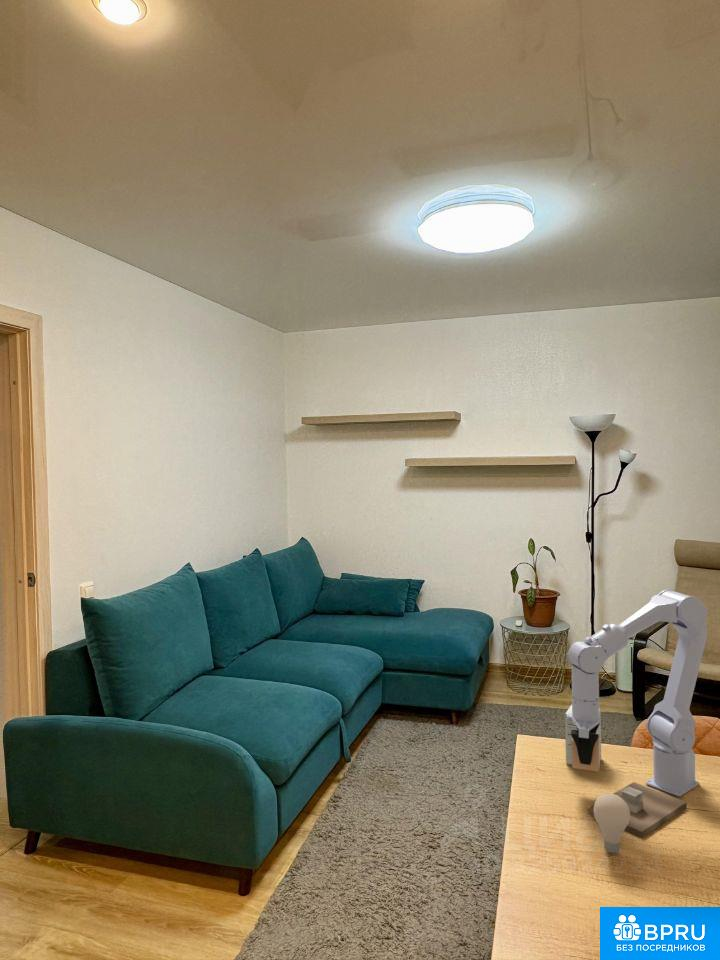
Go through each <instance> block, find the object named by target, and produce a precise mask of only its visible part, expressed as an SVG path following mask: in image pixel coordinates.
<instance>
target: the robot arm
mask: <svg viewBox="0 0 720 960" xmlns="http://www.w3.org/2000/svg"><path fill="white" fill-rule="evenodd" d="M708 611H709V610H708V608H707V607H706V605H705V604H704V603H703V601H702V600H701V599H700V598H698V597H696V596H693V595H688V594H684V593H682V592H677V591H675V590H673V589H664V590H662V591H660V592H659V593H658V594H655V595H653V596H652V597H651V598H650V601H649V602H648V603H647V604H645V605H644V606H642V607H640V609H638V610H637V611H636V612H635V613H633V614H632V615H630V616H628V617H627V618H626V619H625V620H623V621H622V622H621V623H619V624H615V623H610V624H607V623H605V624H604V625H602V626H601V628H602V629H600V630H599V631H597V632H596V633H594V634H592V635H591V636H586V637H585V638H584V641H583V640H581V641H579V640H578V641H576V642H574V643H572V644H571V645H570V648H569V649H568V652H567V653H565V654H566V656H565V657H566V659H567V662H568V663H569V664H570V665H571V669H570V670H571V705H572V714H570V713H568V714H567V719H569V720H572V721H573V722H574V724H575V725H576V727H577V730H571V736H572V738H573V740H574V742H575V744H576V747H577V751H578V756H579V760H580V763H581V764H587V765H590V764H591V760H592V753H593V748H594V745H595V743H596V741H597V739H598V734H596V731H597V729H598V727H599V725H600V717H599V709H600V683H599V679H600V677H599V676H600V675H599V672H600V671H601V670H602V669H603V666H604V664H605V662H606V661H607V660H608V659H609V658H611V657H612V656H614V655H615V654H617V653H619V651H621V650H623V649H624V648H626V647H628V645H629V639H630V638H631V637H633V636H635V635H637V634H639V633H640V632H642V631H644V630H646V629H648V628H649V627H651V626H653V625H655V624H656V623H658V622H662V623H663V622H664V623H671V624H672V626H673V627H674V629H675V630H676V631H677V632H678V639H677V643H676V646H675V647H676V648H675V652H674V655H673V660H672V664H671V666H670V667H671V668H670V672H669V676H668V680H667V684H666V689H665V692H664V697H663V700H661V701H659V702H658V703H656V704H655V705H654V708H653V711H652V712H651V714H650V715H649V716H648V719H647V721H646V730H647V732H648V734H649V735H651V738H652V739H651V740H652V744H653V747H652V748H653V749H652V750H653V755H652V756H653V777H651V778H650V779H648V780H646V781H645V784H646V785H647V786H650V787H653V788H655V789H657V790H661V791H663V792H666V793H669V794H671V795H674V796H677V797H681V796H683V795H685V794H686V793H688V792H689V791H691V790H692V789H694V788H696V787H697V786H698V785H700V782H699V781H698V780H696V755H695V754H696V753H695V751H694V750H693V747H694V745H695V742H696V733H695V727H696V726H695V725H696V721H695V718H694V717H693V715H692V712H691V711H690V707H691V703H692V699H693V695H694V691H695V688H696V684H697V683H696V682H697V678H698V675H699V671H700V667H701V662H702V659H703V656H704V655H703V654H704V651H705V648H706V647H705V646H706V642H707V639H708V627H707V614H708ZM591 733H593V734H591Z"/></svg>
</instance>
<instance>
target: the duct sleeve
mask: <svg viewBox="0 0 720 960" xmlns="http://www.w3.org/2000/svg"><path fill="white" fill-rule="evenodd" d="M591 734H593V733H591ZM600 765H601V760H600V734H598V739H597V741H596V743H595V745H594V748H593V753H592V760H591V764H590V765H587V764H581V763H580V760H579V756H578V751H577V747H576V744H575V742H574V740H573V738H572V765H571V767H572V768H573V769H580V770H585V771H586V770H587V771H593V772H600V768H601V767H600Z"/></svg>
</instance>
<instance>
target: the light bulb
mask: <svg viewBox="0 0 720 960" xmlns="http://www.w3.org/2000/svg"><path fill="white" fill-rule="evenodd" d="M594 804H595V805H594ZM594 804H593V805H594V810H593V811H594V816H593V817H594V818H595V820H596V822H597V824H598V826H599V828H600V830H601V834H602V838H603V840H604V841H603V842H604V843H603V845H604V850H606V852H608V853H610V854H617V853H619V852H620V851H621V850H620V843H621V841H622V835H623V833H624V832H625V831H626V830H625V828H626V827H627V825H628V824H629V819H630V811H629V807H628V805H627V804H626V803H625V801H624V800H623V799H622V798H621V797H619V796H618V795H615V794H614V793H610V792H609V793H603V794H601V795H599V796H598V797H597V799H595V801H594Z"/></svg>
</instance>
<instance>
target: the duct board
mask: <svg viewBox="0 0 720 960" xmlns="http://www.w3.org/2000/svg"><path fill="white" fill-rule="evenodd" d="M613 794H615V795H618V796H619V797H621V798H622V799H623V800H624V801H625V803H626V804H627V805H628V807H629V811H630V819H629V824H628V825H627V827H626V828H625V830H624V831H626V832H628V833H631V834H633V835H635V836H637V837H640V838H644V837H645V836H647V835H649V834H650V833H652V832H653V831H654V830H656V829H657V828H659V827H661V826H662V825H663V824H665V823H666V822H668V821H669V820H671V819H672V818H674V817H675V816H676V815H678V814H679V813H681V812H682V811H684V810H686V809H687V808H688V807H687V801H685V800H682V799H680V798H676V797H674V796H671V795H669V794H666V793H664V792H661V791H659V790H657V789H653V788H651V787H649V786H648V787H647V786H645V785H643V784H640V783H638V782H635V781H633V782H631V783H629V784H627V785H626V786H624V787H622V788H620V789H619V790H617V791H616V792H614V793H613ZM594 805H595V803H594V804H593V805H591V806H589V807H588V808H587V814H589V815H591V816H593V817H595V816H594V811H593V810H594Z"/></svg>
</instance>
